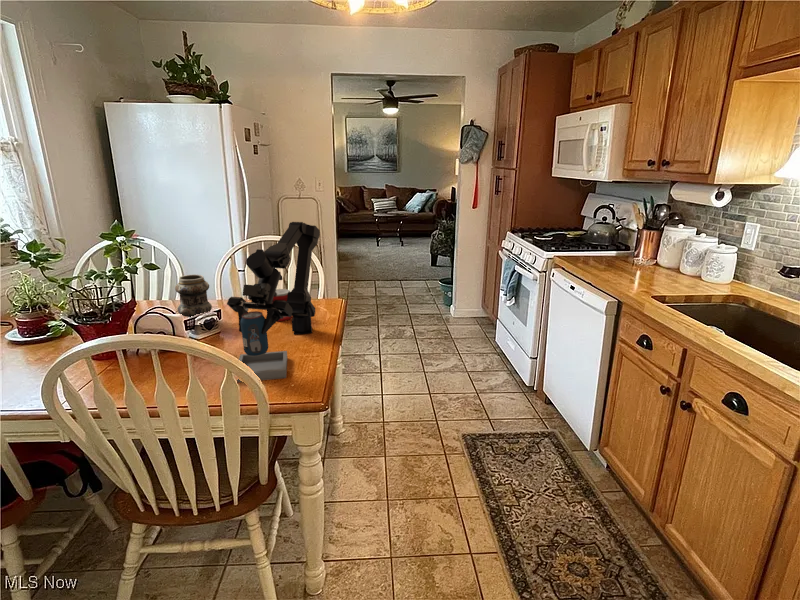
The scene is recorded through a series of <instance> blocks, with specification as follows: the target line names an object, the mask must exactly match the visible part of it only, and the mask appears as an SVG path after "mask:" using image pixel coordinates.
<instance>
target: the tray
mask: <svg viewBox="0 0 800 600" xmlns="http://www.w3.org/2000/svg"><path fill="white" fill-rule="evenodd" d="M239 360H240V361H242V362H243V363H245V364H246V365H247V366H249V367H250V368H251V369H252V370H253V371H254V373H255V374H256V375H257V376H258V377H259V378H260V379H261V380H260V381H267V380H268V381H269V380H277V379H279V380H280V379H287V374H288V373H287V371H288V370H287V369H288V351H287V350H282V351H281V350H279V351H267V352H266V353H265V354H263V355H261V356H255V357H252V356H248V355H247V354H246V353H241V354H239V357H238V361H239ZM237 381H238V382H237V383H242V382H241V381H240V380H239V379H238V380H237Z"/></svg>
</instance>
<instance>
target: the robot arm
mask: <svg viewBox="0 0 800 600" xmlns="http://www.w3.org/2000/svg"><path fill="white" fill-rule="evenodd" d="M320 236H321V232H320V229H319V228H318V227H317V225H313V224H307V223H305V222H303V221H291V222H289V224H288V227H287V229H286V231H284V233H283V234H282V236H280V239H279V240H278V241H277V243H276V244H273V245H271V246H268V248H266V250H264V249H260V248H258V249H256V250H255V252H253V253H251V254H250V255H249V256H248V257H247V258H246V259H245V263H246V266H247V267H248V269H249V270H250V271H251V272H252V273H253V275H255V277H256V278H258V282H257V283H254V284H243V287H242V288H243V290H242V296H243V297H245V296H246V297H247V299H248V300H250V301H246V300H245V299H244V298H243V297H242V296H241V297H240V296H230V297H229V298H228V300H227V302H226V305H227V306H228V307H230V309H232V310H233V311H234V312H235V313H237V315H238V331H239V332H240V333H242V330H241V322H240V321H241V319H242V315H243V314H244V313H247V312H249V309H250V310H262V311H263V310H264V311H266V316H265V322H264V325H263V328H262V332H261V333H262V334H263V335H264V334H265V333H266V332H267V333H268V331H269V330H270V329H271V328H272V327H273V326H274V325H275V324H277V322H279V321H278V320H279V319H283V316H285V317H291V316H292V317H291V330H292V332H293V334H294V335H304V334H305V335H306V334H307V335H308V334H313V329H312V328H313V327H312V318H313V317H315V315H316V307H315V305H314V304H313V303H312V296H311V294H310V292H309V282H310V281H309V280H310V271H311V263H312V255H313V250H314V249H315V248H316V247H317V245H318V242H319V239H320ZM296 245H297V248H298V252H297V260H296V266H295V267H296V269H295V276H294V285H293V288H292V290H290V292H288V295H287V301H282V300H275V301H273V298H274V296H275V297H276V296H277V293H276V292H275V291H276V290H277V288H278V284H279V281H283V275H282V273H281V271H279V270H278V269H286V268H287V267H288V265H289V263H290V261H291V256H290V254H291V252H292V250H293V249H294V247H295V246H296ZM272 301H273V304H272Z"/></svg>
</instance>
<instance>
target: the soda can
mask: <svg viewBox="0 0 800 600" xmlns="http://www.w3.org/2000/svg"><path fill="white" fill-rule="evenodd" d="M265 319H266V316H264V314H263V312H261V311H259V310H258V311H256V310H255V311H254V310H253V311H247V313H244V314H243V315H242V319H241V321H240V322H241V330H242V332H241V338H242V345H243V346H242V347H243V351H244V354H247V355H248V356H252V357H255V356H261V355H263V354H265V353H266V352H268V350H269V341H268V331H267V332H266V333H265V334H264V335H263V334H262V333H261V332H262V328H263V325H264V322H265Z"/></svg>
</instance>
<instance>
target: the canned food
mask: <svg viewBox="0 0 800 600" xmlns="http://www.w3.org/2000/svg"><path fill="white" fill-rule="evenodd" d="M275 292H276V293H277V296H276V297H275V296H274V298H273V301H275V300H282V301H287V295H288V292H291V290H290V289H288V288H287V289H286V288H279V289H277V288H276V291H275ZM273 301H272V304H273ZM292 318H293V316H291V317H285V316H283V319H279V320H278V321H277V322H286V321H285V320H287V321H289V320H292Z"/></svg>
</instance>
